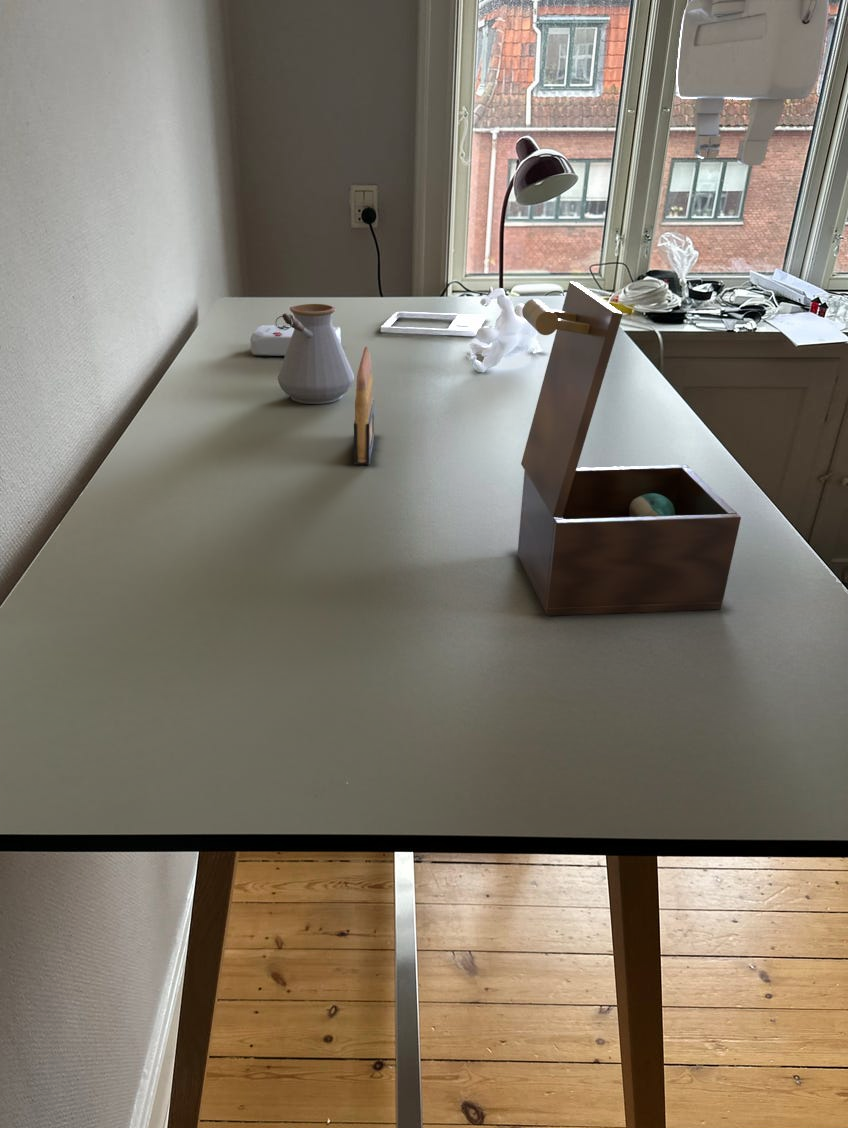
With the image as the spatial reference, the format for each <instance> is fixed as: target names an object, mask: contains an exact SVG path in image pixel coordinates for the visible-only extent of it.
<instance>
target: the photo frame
mask: <svg viewBox="0 0 848 1128" xmlns="http://www.w3.org/2000/svg"><path fill="white" fill-rule="evenodd" d="M399 318H411V319H413V318H414V319H436V320H437V319H438V320H453V321H452V322H451V324H450V325H449V326H448V328H429V327H407V326H393V324H394V323H395V322H396V321H397V320H398V319H399ZM485 320H486V315H485V314H466V313H465V314H463V313H443V312H419V311H417V312H415V311H396V312H395V313H393V314H392V315H391V316H390V317H389V318H388V319H387V320H386V321H385V322H384V323H383V324H382V325H381V326H380V333H395V334H396V333H397V334H419V335H437V336H439V335H440V336H457V337H458V336H460V337H461V336H462V337H476V332H477V330H478V329H479V328H480V327H482V326H483V324H484V322H485Z"/></svg>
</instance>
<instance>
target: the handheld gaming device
mask: <svg viewBox="0 0 848 1128" xmlns="http://www.w3.org/2000/svg"><path fill="white" fill-rule="evenodd" d="M277 326H278V327H279V328H281V329H287V328H289V327H290V325H277ZM277 326H276V324H275V325H270V324H269V325H268V324H261V325H259V326H258V327H257V328H256V329H255V330H254V331H253V332H252V334H251V336H250V340H249V343H250V344H249V345H250V352H251V354H253V356H263V357H265V356H266V357H285V354H286V352H287V349H288V346H289V343H290V340H291V337H292V334H293V332H294V328H292V327H290V328H289V329H287V330H281V329H279V328H278V327H277ZM333 327H334V330H335V332H336V334H337V337H338V339H339V341H340V343H341V342H342V341H341V340H342V339H341V327H340V326H333Z"/></svg>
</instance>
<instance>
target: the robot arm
mask: <svg viewBox="0 0 848 1128" xmlns="http://www.w3.org/2000/svg"><path fill="white" fill-rule="evenodd" d="M829 8H830V0H690V1H688V3H687V4H686V6H685V9H684V12H683V16H682V21H681V29H680V37H679V45H678V55H677V56H678V57H677V66H676V67H677V68H676V87H677V93H678V96H679V98H681V99H695V102H694V110H693V120H694V129H695V135H696V136H695V142H694V148H693V155H694V157H696V158H697V159H715V158H717V157H718V155H719V154H720V147H721V143H722V139H723V135H720V116H721V115H720V114H722V113H723V111H724V105H725V100H726V99H727V100H730V99H731V100H732V99H733V100H750V103H749V107H748V116H749V117H750V119H749V122H748V125H747V128H746V131H745V134H744V138H743V139H739V142H738V147H737V148H738V149H737V153H736V162H737V164H739V165H741V166H742V165H743V166H760V165H762V164H764V162H765V160H766V155H767V151H768V145H769V141H770V140H771V138H772V136H773V133H774V132H775V129H776V128H777V126H778V125H779V122H780V120H781V117H782V115H783V111H784V110H783V109H784V104H785V100H806V99H808V97H809V96H810V95H811V94H812V92H813V90H814V88H815V86H816V84H817V82H818V80H819V75H820V71H821V65H822V60H823V53H824V48H825V47H824V46H825V39H826V34H827V25H828V18H829Z"/></svg>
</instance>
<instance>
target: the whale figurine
mask: <svg viewBox="0 0 848 1128" xmlns="http://www.w3.org/2000/svg"><path fill="white" fill-rule="evenodd" d="M629 516H630V517H654V516H675V510H674V506H673V504H672V503H671V502H670V501H669V500H668V499H667V498H666V497H664V496H662V495H659V494H654V493H649V494H645V495H642V496H640V497H637V498H636V499H634V500H633V501H632V502H631V504H630V508H629Z"/></svg>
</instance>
